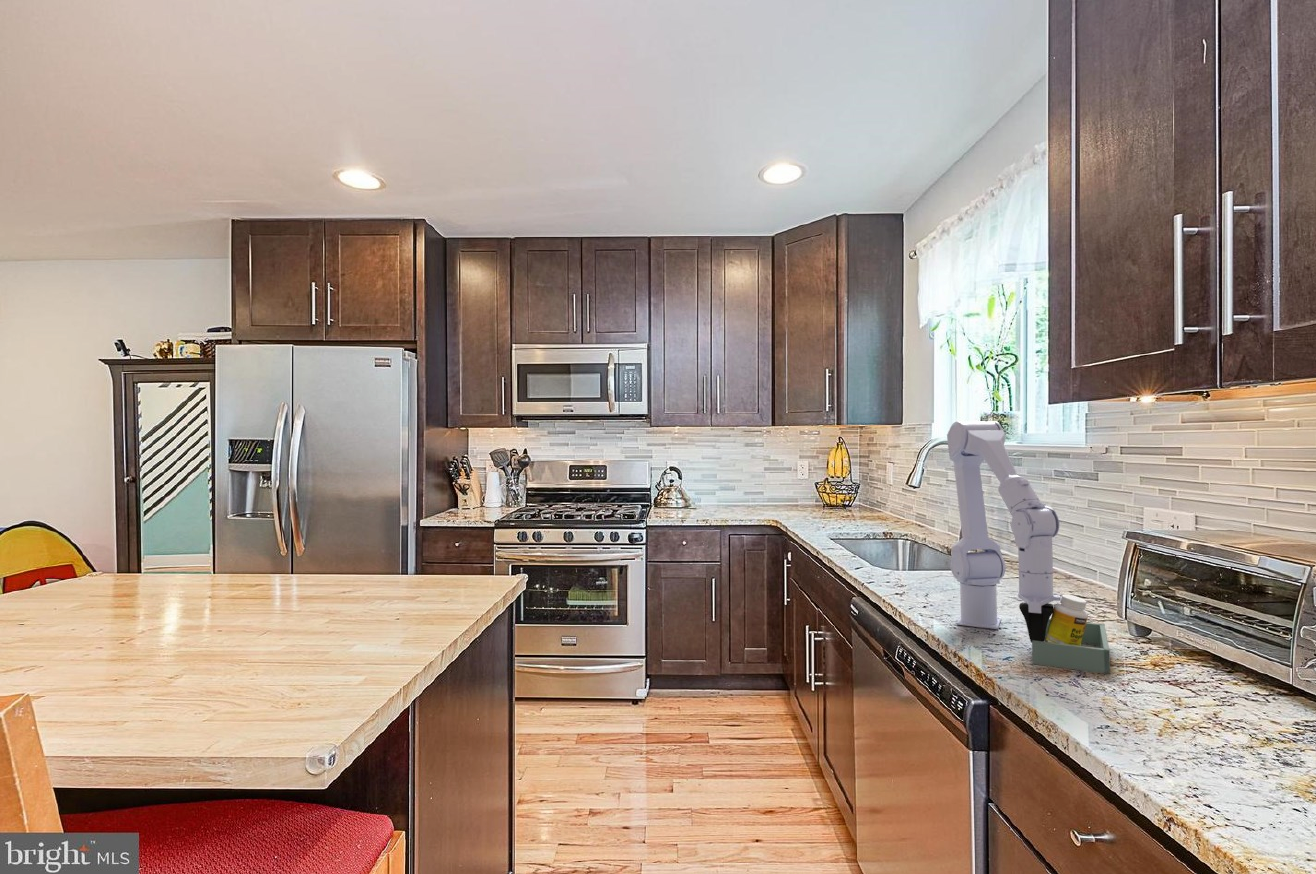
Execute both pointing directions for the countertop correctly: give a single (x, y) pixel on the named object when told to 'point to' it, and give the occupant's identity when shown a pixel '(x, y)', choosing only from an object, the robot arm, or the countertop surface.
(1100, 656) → the u-shaped frame
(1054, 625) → the supplement bottle
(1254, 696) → the countertop surface
